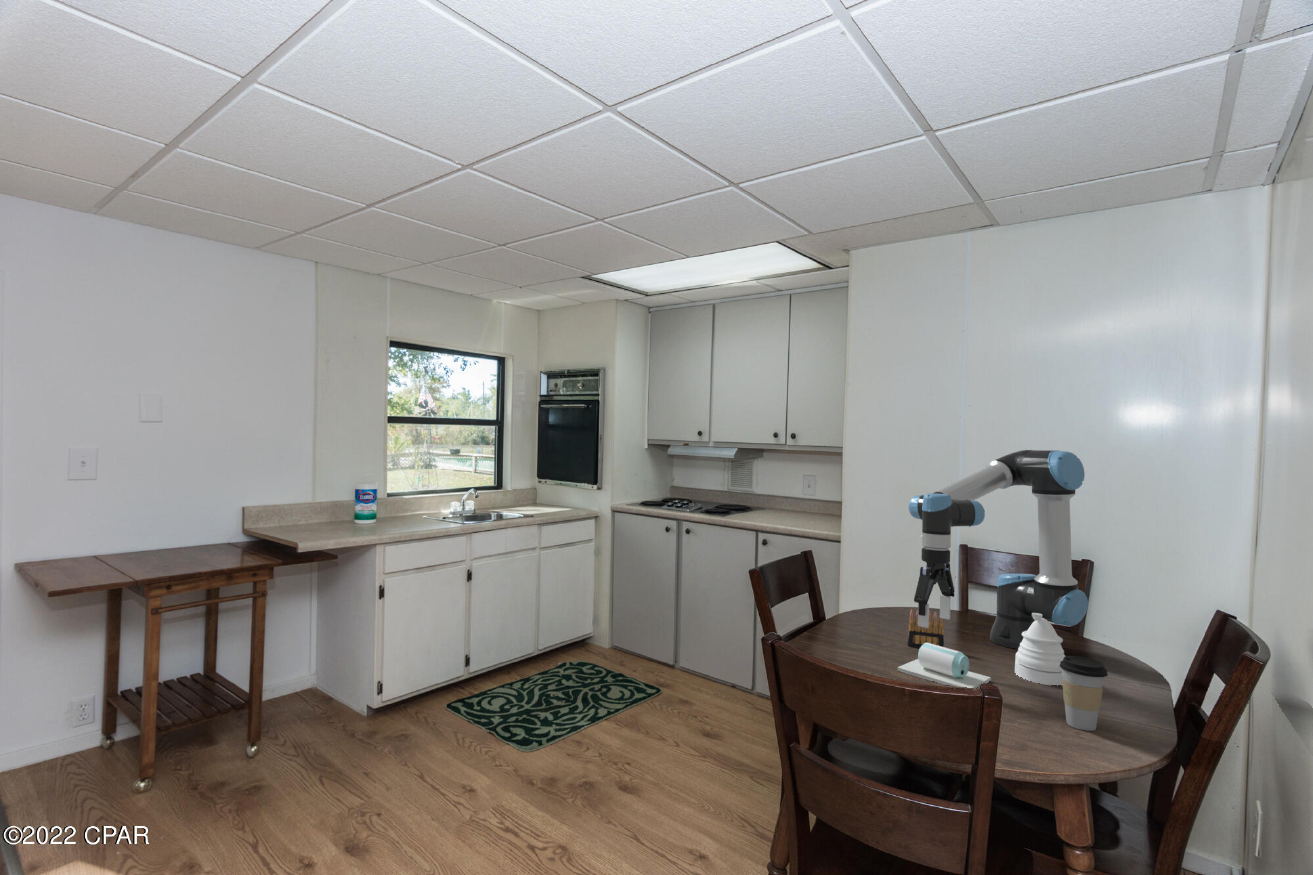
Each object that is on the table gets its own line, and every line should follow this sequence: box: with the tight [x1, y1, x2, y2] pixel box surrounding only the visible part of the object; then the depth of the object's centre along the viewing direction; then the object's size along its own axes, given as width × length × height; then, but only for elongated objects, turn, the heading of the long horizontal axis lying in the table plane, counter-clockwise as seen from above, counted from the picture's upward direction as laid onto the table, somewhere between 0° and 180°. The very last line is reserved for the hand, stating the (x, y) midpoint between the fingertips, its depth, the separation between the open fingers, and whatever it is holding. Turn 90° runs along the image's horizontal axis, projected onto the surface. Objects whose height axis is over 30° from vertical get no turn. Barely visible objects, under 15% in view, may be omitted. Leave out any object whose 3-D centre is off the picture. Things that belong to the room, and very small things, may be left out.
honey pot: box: [1014, 613, 1066, 687], centre depth 182 cm, size 13×13×18 cm
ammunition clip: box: [906, 608, 945, 649], centre depth 205 cm, size 11×2×12 cm, turn 73°
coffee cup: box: [1059, 655, 1109, 732], centre depth 150 cm, size 9×9×15 cm
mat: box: [897, 658, 992, 690], centre depth 180 cm, size 20×14×1 cm
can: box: [917, 643, 970, 678], centre depth 179 cm, size 7×7×12 cm
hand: (934, 622), depth 183 cm, fingers open, 13 cm apart
